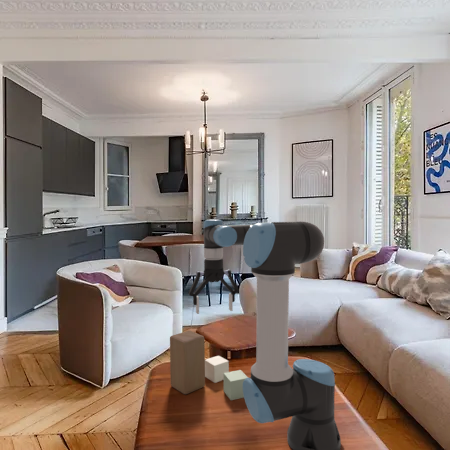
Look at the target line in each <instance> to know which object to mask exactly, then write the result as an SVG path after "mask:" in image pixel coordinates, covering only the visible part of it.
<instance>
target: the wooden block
mask: <svg viewBox="0 0 450 450" xmlns="http://www.w3.org/2000/svg"><path fill="white" fill-rule="evenodd" d="M205 345H206V344H205V337H204V335H202V334H200V333H196V332H194V331H192V330H186V331H183V332H180V333H175V334H173V335H171V336H169V354H170V355H169V357H170V359H169V363H170V364H169V365H170V367H169V368H170V371H169V372H170V386H171V388H174V389H175V390H177V391H178V392H180V393H182V394H183V395H188V394H191V393H193V392H195V391H197V390H199V389H202V388H204V387H205V385H206V377H205V360H206V357H205V356H206V355H205V352H206V351H205V350H206V349H205Z"/></svg>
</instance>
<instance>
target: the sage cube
mask: <svg viewBox="0 0 450 450" xmlns="http://www.w3.org/2000/svg"><path fill="white" fill-rule="evenodd" d="M223 376H224V380H223V392H224V394H225V395H226V397H228V399H229V400H230V401H233V400H238V399H244V395H243V381H244V380H245V379H246V378H249V377H248V376H247V375H246V374H245V372H243V370H241V369H238V370H233V371H229V372H227V373H223Z"/></svg>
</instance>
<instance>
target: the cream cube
mask: <svg viewBox="0 0 450 450" xmlns="http://www.w3.org/2000/svg"><path fill="white" fill-rule="evenodd" d="M229 362H230V361H229V360H228V359H226V358H224V357H222V356H221V355H216V356H212V357H209V358H205V379H208V380H210V381H211V382H213V383H214V384H216V383H218V382H222V381H224V376H223V373H227V372H230V371H229V369H230V368H229V367H230V365H229Z"/></svg>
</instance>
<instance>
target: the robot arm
mask: <svg viewBox="0 0 450 450" xmlns="http://www.w3.org/2000/svg"><path fill="white" fill-rule="evenodd" d="M231 246H242V256H243V257H244V262H245V264H246V266H247V267H249V268H250V269H251V270H250V271H251V272H250V273H251V274H253V276H255V279H256V340H255V341H256V342H255V343H256V346H255V347H256V351H255V352H256V353H255V355H256V357H255V359H256V360H255V361H256V362H255V363H254V364H253V365H251V366H250V377H248V378H246V379H245V380H244V381H243V395H244V398H243V399H244V402H245V405H246V407H247V409H248V412H249V414H250V416H251V417H252V418H253V420H255V422H257V423H258V424H266V423H274V422H275V421H280V420H283V419H286V418H291V419H290V423H289V426H288V428H287V435H286V439H287V441H286V442H287V444H288V446H289V447H290V448H291V450H341V447H342V445H341V443H342V442H341V440H342V439H341V436H340V432H339V429H338V426H337V422H336V420H335V388H336V387H335V386H336V382H335V380H336V379H335V373H334V370H333V369H332V368H331V367H330V366H329V365H327V364H326V363H324V362H321V361H319V360H314V359H309V358H299V359H296V360H295V361H294V362H293V364H292V367H291V365H290V364H289V356H288V355H289V309H290V308H289V299H290V298H289V297H290V296H289V295H290V294H289V293H290V292H289V291H290V290H289V289H290V287H289V286H290V278H292V277H293V276H294V275H295V273H296V272H295V270H296V267H295V266H296V265H300V264H307V263H310V262H312V261H314V260H316V259H317V258H319V256H320V255H321V253H322V252H323V250H324V247H325V237H324V234H323V231H322V230H321V229H320V228H319V227H318V226H316V225H315V224H314V223H311V222H307V221H267V222H265V221H264V222H258V223H255V224H238V225H236V224H235V225H232V224H231V225H224V223H223V220H222V219H206V220H204V222H203V250H204V251H203V257H204V261H203V262H204V263H203V264H204V266H203V267H204V269H203V271H199V270H197V271H196V272H195V278H194V280H193V282H192V283H191V285H190V288H189V291H188V293H187V294H188V296H190V297H192V298H193V299H192V304H193V305H194V306H195V313H196V314H200V297H199V294H200V293H201V292H202V291H203V290H204V288H205V286H206V285H208V284H209V283H219V282H221V284H223V285H224V286H225V288H226V289H227V290H228V291H229V292H230V293H228V310H229V311H230V312H233V303H234V302H235V300H236V298H235V297H236V296H235V295H236V294H237V293H239V292H240V290H239V287H238V285H237V283H236V282H235V280H234V277H233V276H232V270H231V269H229V268H228V269H226V270H224V259H223V258H224V248H225V247H226V248H228V247H229V248H230V247H231ZM224 275H226V276H227V277H228V280H229V282H230V284H231V286H232V287H231V286H230V285H229V284H228V283H227V282H226V279H224V278H223V277H224ZM202 276H204V279H203V280H202V282H201V283H200V284H199V282H200V279H201V278H202ZM198 284H199V285H198Z"/></svg>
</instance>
